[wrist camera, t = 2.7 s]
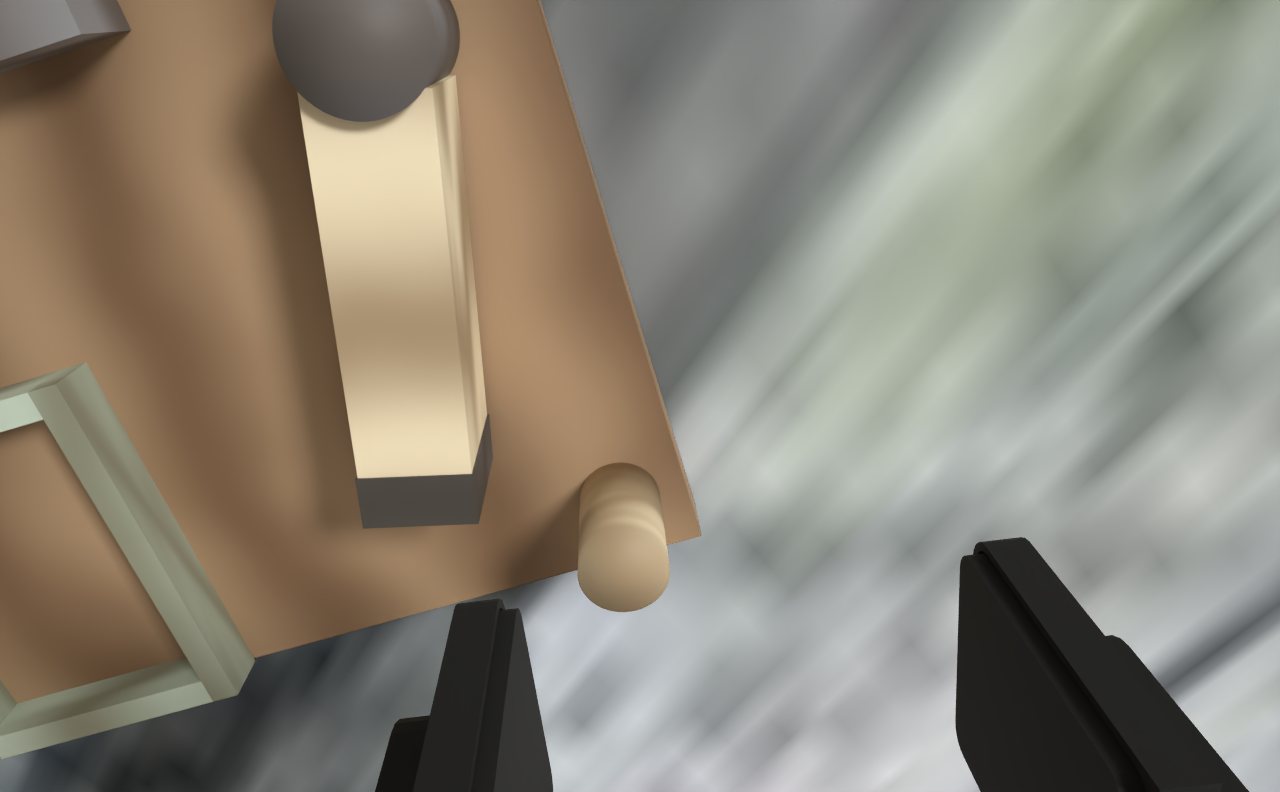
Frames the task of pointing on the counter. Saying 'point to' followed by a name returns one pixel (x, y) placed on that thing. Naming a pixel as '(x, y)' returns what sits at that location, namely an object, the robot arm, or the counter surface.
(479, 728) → the robot arm
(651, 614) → the counter surface
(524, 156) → the stool board
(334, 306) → the hinged leg
